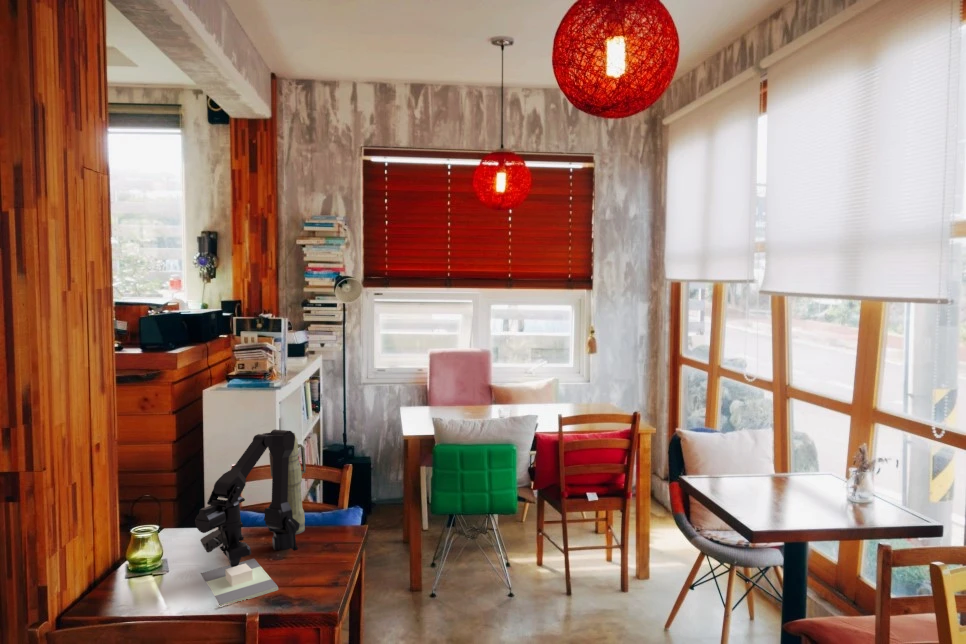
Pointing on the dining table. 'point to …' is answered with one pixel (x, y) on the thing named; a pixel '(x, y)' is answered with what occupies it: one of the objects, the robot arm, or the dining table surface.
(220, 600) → the mats
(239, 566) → the cream block
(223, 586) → the board
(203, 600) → the dining table surface
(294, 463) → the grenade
